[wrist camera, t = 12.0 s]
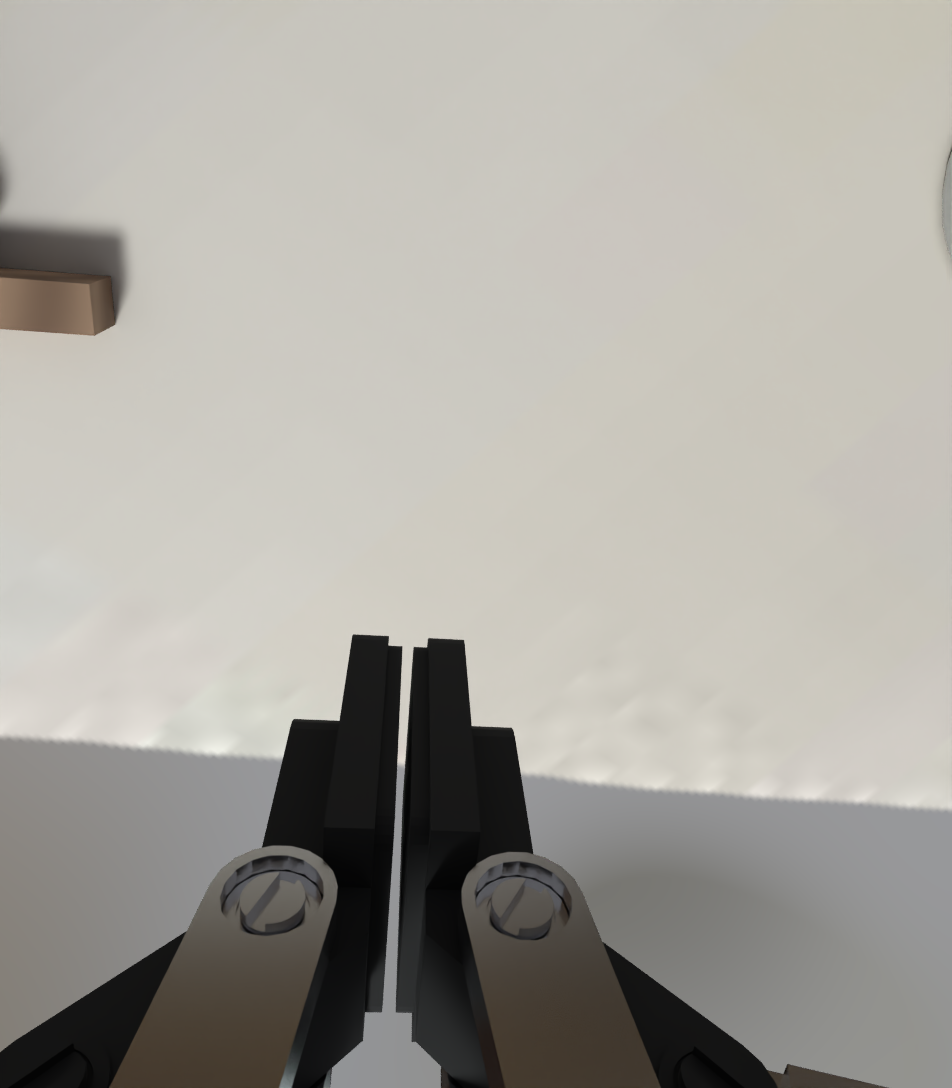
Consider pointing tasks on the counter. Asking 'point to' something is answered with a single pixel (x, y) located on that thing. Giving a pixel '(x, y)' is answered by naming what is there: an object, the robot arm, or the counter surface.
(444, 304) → the counter surface
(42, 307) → the walnut bay
